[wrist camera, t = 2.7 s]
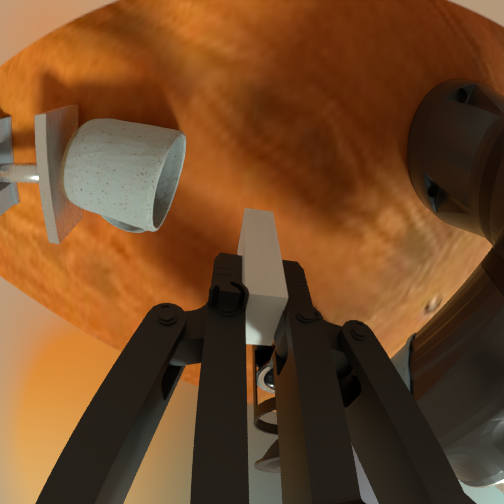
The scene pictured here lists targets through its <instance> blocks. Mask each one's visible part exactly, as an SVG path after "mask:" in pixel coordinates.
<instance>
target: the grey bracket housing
mask: <svg viewBox="0 0 504 504" xmlns="http://www.w3.org/2000/svg"><path fill="white" fill-rule="evenodd" d="M2 163H14V159H13V147H12V130H11V116H10V117H5V118H0V164H2ZM18 203H19V196H18V190H17V184H16V182H0V216H1V215H2V214H3V213H4V212H5V211H7V210H8V209H9V208H10V207H11V206H13V205H14V204H18Z"/></svg>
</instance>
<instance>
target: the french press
mask: <svg viewBox="0 0 504 504" xmlns="http://www.w3.org/2000/svg"><path fill="white" fill-rule="evenodd" d="M252 351H253V407H254V426H255V428H257V429H258V430H260V431H262V432H265V433H268V434H274V435H278V426H277V425H275V424H270V423H266V422H264V421H262V420H260V419H259V417H261V416H262V415H264V414H266V413H268V412H271V411H273V410H276V399H275V397H273V398H270V399H268V400H265V401H264V402H262V403H260V404H259V405H258V403H257V385H258V386H259V387H260V388H262V389H263V390H265V391H267V392H271V393H275V385H274V372H273V363H272V366H271V367H268V365H269V361H270V359H271V356H272V354H273V351H272V350H269V349H268V348H266V347H265V346H264V345H254V344H252ZM257 367H258V368H259V369H258V371H257ZM255 468H256V469H257V470H260V471H264V472H272V473H281V470H280V455H279V440H278V439H277V440H276V441H275V442H274V443H273V444H272V445H271V447H270V448H269V449H268V451H267V452H266V454H265V455H264V457H263V458H262V459H260V460H258V461H256V462H255Z"/></svg>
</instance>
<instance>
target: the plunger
mask: <svg viewBox="0 0 504 504" xmlns="http://www.w3.org/2000/svg"><path fill="white" fill-rule="evenodd" d="M78 107H79V104H77V105H67V106H63V107H60V108H56V109H53V110H49V111H46V112H43V113H40V114H37V115H35V146H36V160H37V163H2V164H0V182H17V183H39V188H40V195H41V202H42V208H43V214H44V219H45V225H46V230H47V234H48V239H49V242H50V243H56V244H60V243H61V242H62V241H63V239H64V238H65V237H66V236H67V235H68V234H69V233H70V232H71V230H72V229H73V228H74V227H75V226H76V225H77V224H78V223H79V222H80V221H81V220H82V218H83V210H82V208H80V207H78V206H77V205H75V204H73V203H72V202H71V201H70V200H69V199H67V198H66V196H65V194H64V192H63V189H62V185H61V174H60V171H61V164H62V158H63V155H64V152H65V149H66V147H67V144H68V142H69V141H70V139H71V137H72V136H73V134H74V133H75V131H76V130H77V129H78Z"/></svg>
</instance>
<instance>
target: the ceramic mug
mask: <svg viewBox="0 0 504 504" xmlns="http://www.w3.org/2000/svg"><path fill="white" fill-rule="evenodd" d="M185 151H186V136H185V134H184V133H183V132H182V131H179V130H174V129H169V128H163V127H158V126H153V125H148V124H142V123H135V122H128V121H122V120H117V119H109V118H104V119H93V120H89V121H87V122H86V123H84V124H82V125H81V126H80V127H79V128H78V129H77V130H76V131H75V133H74V134H73V136H72V137H71V139H70V141H69V142H68V144H67V147H66V149H65V152H64V155H63V158H62V164H61V171H60V174H61V185H62V189H63V192H64V194H65V196H66V198H67V199H69V200H70V201H71V202H72V203H73V204H75V205H77V206H78V207H80V208H82V209H85V210H88V211H90V212H93V213H97V214H100V215H101V216H102V217H103V218H104V219H105V220H106V221H108V222H109V223H110V224H112V225H114V226H115V227H117V228H120V229H122V230H125V231H128V232H133V233H142V232H145V231H147V230H148V231H152V232H154V231H157V230H158V229H159V228H160V226H161V225H162V224H163V222H164V220H165V218H166V215H167V213H168V211H169V209H170V206H171V203H172V201H173V198H174V195H175V192H176V189H177V186H178V182H179V178H180V175H181V171H182V167H183V162H184V158H185Z"/></svg>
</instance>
